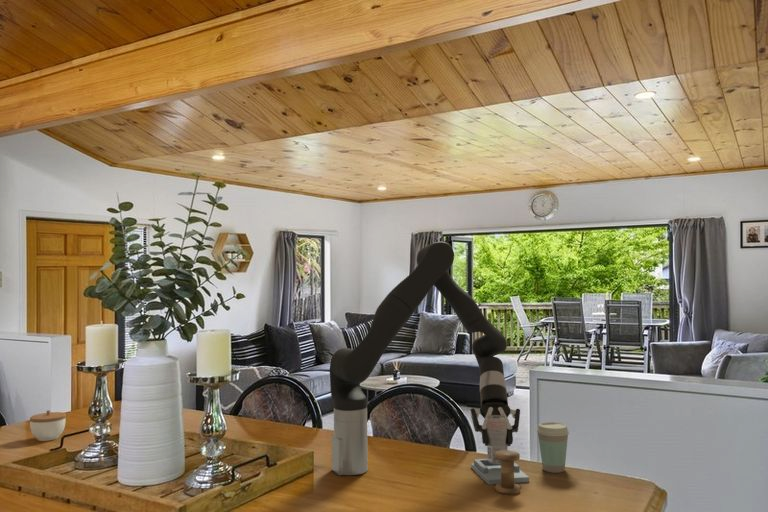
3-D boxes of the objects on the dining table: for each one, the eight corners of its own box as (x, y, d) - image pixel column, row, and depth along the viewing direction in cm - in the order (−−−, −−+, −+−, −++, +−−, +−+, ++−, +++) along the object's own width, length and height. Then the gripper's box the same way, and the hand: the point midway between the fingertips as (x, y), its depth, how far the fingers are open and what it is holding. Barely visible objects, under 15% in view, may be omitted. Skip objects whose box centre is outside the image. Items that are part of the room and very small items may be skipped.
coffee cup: (570, 466, 169) (569, 422, 169) (569, 475, 161) (568, 430, 161) (538, 463, 171) (537, 420, 172) (536, 472, 163) (535, 427, 164)
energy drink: (506, 459, 166) (505, 414, 166) (508, 465, 161) (507, 419, 161) (486, 458, 167) (486, 414, 167) (488, 464, 161) (487, 419, 162)
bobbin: (505, 496, 146) (504, 458, 146) (490, 488, 152) (490, 452, 152) (525, 492, 149) (524, 455, 149) (510, 484, 154) (509, 449, 154)
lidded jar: (72, 437, 207) (72, 409, 207) (40, 444, 198) (40, 415, 198) (55, 433, 212) (55, 406, 213) (23, 440, 203) (23, 411, 204)
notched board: (529, 481, 156) (528, 471, 156) (488, 484, 154) (488, 474, 154) (509, 465, 170) (508, 456, 170) (471, 467, 168) (471, 458, 168)
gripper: (468, 383, 172) (471, 436, 160) (519, 383, 171) (526, 437, 159) (467, 398, 177) (470, 451, 165) (517, 398, 176) (524, 452, 164)
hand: (498, 444), depth 162 cm, fingers closed on energy drink, 5 cm apart
